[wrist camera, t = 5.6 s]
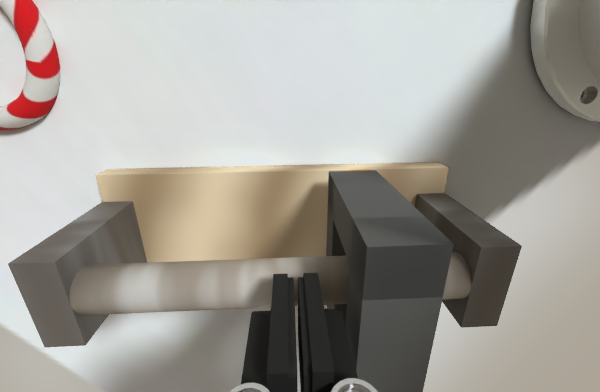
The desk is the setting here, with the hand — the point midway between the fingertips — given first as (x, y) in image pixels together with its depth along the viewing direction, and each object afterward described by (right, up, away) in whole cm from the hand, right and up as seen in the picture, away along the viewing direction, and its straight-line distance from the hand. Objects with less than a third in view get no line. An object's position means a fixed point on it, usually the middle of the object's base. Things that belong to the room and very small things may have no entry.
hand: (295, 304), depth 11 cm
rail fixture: (-1, +3, +7) cm, 8 cm away
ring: (+3, +2, +5) cm, 6 cm away
